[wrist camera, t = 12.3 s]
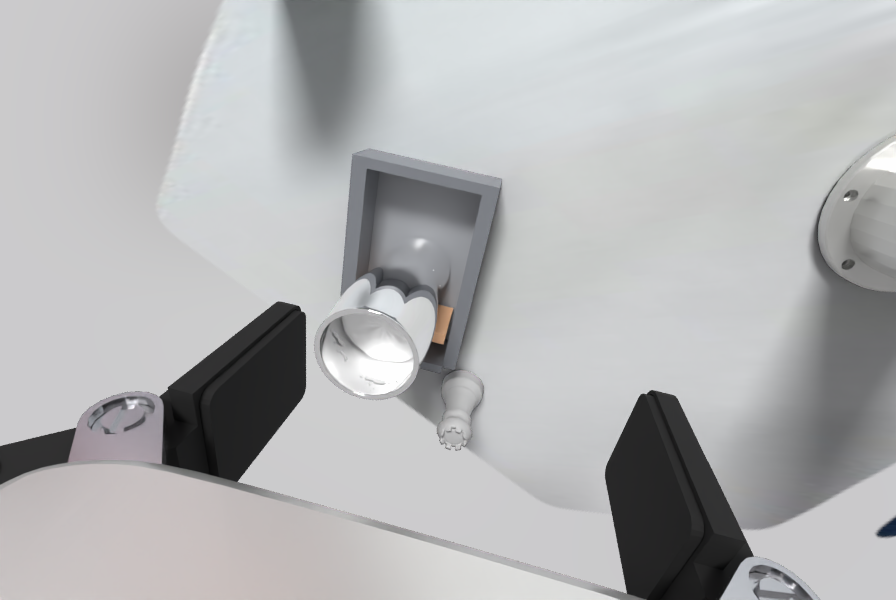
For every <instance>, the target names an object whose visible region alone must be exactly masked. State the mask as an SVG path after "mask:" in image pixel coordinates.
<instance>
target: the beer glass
mask: <svg viewBox="0 0 896 600" xmlns="http://www.w3.org/2000/svg"><path fill="white" fill-rule="evenodd" d="M449 276H450V265H449V261H448V258H447V256H446V254H445V252H444V251H443V249H442V248H441V247H440V246H439V245H437V244H436V243H435V242H433V241H431V240H429V239H427V238H424V237H419V236H412V237H406V238H403V239H401V240H399V241H398V242H396V243H395V244H394V245H393V246H392V247H391V248H390V250H389V251H388V253H387V256H386V258H385V262H384V263H383V264H381V265H379V266H378V267H376V268H374V269H372V270H371V271H369V272H367V273H366V274H364V275H363V276H362V277H360V278H359V279H357V280H356V281H355V282H354V283H353V284H352V285H351V286H350V287H349V288H348V289H347V290H346V291H345V292H344V294H343V295H342V296H341V297H340V299H339V300H338V301H337V302H336V304H335V305H334V307H333V308H332V310H331V311H330V313H329V314H328V316H327V318H326V319H325V320H324V321H323V323H322V324H321V325H320V327H319V328H318V330H317V333H316V336H315V341H314V351H315V356H316V359H317V362H318V364H319V366H320V368H321V370H322V372H323V373H324V374H325V376H326V377H327V378H328V379H329V380H330V381H331V382H332V383H333V384H334V385H335V386H337V387H338V388H340V389H341V390H343V391H344V392H346V393H348V394H350V395H353V396H356V397H359V398H363V399H369V400H383V399H388V398H391V397H395V396H397V395H399V394H401V393H403V392H404V391H405V390H407V389H408V388H409V387H410V385H411V384H412V383H413V381H414V380H415V378H416V376H417V373H418V370H419V368H420V367H421V365H422V363H423V361H424V359H425V357H426V355H427V353H428V350H429V348H430V345H431V343H432V340H433V337H434V333H435V330H436V325H437V317H438V294H439V293H440V292H441V291H442V290H443V288H444V287H445V286H446V284H447V282H448V279H449Z"/></svg>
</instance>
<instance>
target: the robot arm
mask: <svg viewBox="0 0 896 600" xmlns="http://www.w3.org/2000/svg"><path fill="white" fill-rule="evenodd" d="M818 242H819V246H820V250H821V254H822V256H823V257H824V259H825V261H826V263H827V265H828V266H829V267H830V268H831V269H832V270H833V271H834V272H835V273H836V274H838V275H839V276H841V277H843V278H844V279H846V280H848V281H849V282H851V283H854V284H856V285H858V286H860V287H862V288H866V289H871V290H875V291H882V292H896V135H894V136H892V137H890V138H888V139H887V140H885V141H883V142H882V143H880V144H879V145H877V146H876V147H874V148H873V149H871V150H870V151H869V152H867V153H866V154H865V155H864V156H863V157H861V158H860V159H859V160H858V161H857V162H855V163H854V164H853V165H852V166H851V167H850V169H849V170H848V171H847V172H846V173H845V174H844V175H843V176H842V177H841V178H840V180H839V181H838V183H837V184H836V186H835V187H834V189H833V190H832V191H831V193H830V194H829V196H828V199H827V201H826V203H825V205H824V207H823V210H822V213H821V217H820V221H819V225H818ZM305 389H306V315H305V313H304V312H301V309H300V307H299V306H297V305H293V304H289V303H284V302H276V303H275V304H274V305H272V306H271V307H270V308H269V309H267V310H266V311H265V312H264V313H262V314H261V315H260V316H258V317H257V318H256V319H254V320H253V321H252V322H251V323H249V324H248V325H247V326H246V327H244V328H243V329H242V330H241V331H239V332H238V333H237V334H235V335H234V336H233V337H232V338H230V339H229V340H228V341H227V342H225V343H224V344H223V345H221V346H220V347H219V348H218V349H216V350H215V351H214V352H213V353H211V354H210V355H209V356H207V357H206V358H205V359H204V360H202V361H201V362H200V363H199V364H197V365H196V366H195V367H193V368H192V369H191V370H190V371H188V372H187V373H186V374H184V375H183V376H182V377H181V378H179V379H178V380H177V381H176V382H174V383H173V384H172V385H170V386H169V387H168V390H167V391H166V392H165V393H164V394H162V395H161V396H160V397H158V396H157V395H155V394H152V393H149V392H140V391H135V392H125V393H121V394H117V395H113V396H111V397H108V398H106V399H104V400H101V401H99V402H98V403H96V404H94V405H93V406H91V407H90V408H89V409H88V410H87V411H86V412H84V413H83V414H82V416H81V418H80V420H79V422H78V424H77V428H74V429H69V430H65V431H61V432H57V433H53V434H48V435H44V436H40V437H36V438H32V439H28V440H24V441H19V442H15V443H11V444H7V445H3V446H0V600H820V599H819V597H818V596H817V595H816V594H815V593H814V592H813V591H812V590H811V588H810V587H809V586H808V585H807V584H806V583H804V582H803V581H802V580H801V579H800V578H799V577H798V576H796V575H795V574H794V573H793V572H791V571H789V570H788V569H786V568H785V567H783V566H782V565H780V564H778V563H775V562H773V561H771V560H769V559H766V558H760V557H754V556H753V553H752V551H751V549H750V547H749V545H748V543H747V541H746V539H745V537H744V535H743V533H742V531H741V529H740V527H739V525H738V522H737V520H736V518H735V516H734V514H733V512H732V510H731V508H730V506H729V504H728V502H727V500H726V498H725V496H724V493H723V491H722V489H721V487H720V485H719V483H718V481H717V479H716V477H715V475H714V473H713V471H712V469H711V467H710V464H709V462H708V461H707V459H706V457H705V455H704V453H703V451H702V449H701V447H700V445H699V443H698V441H697V438H696V436H695V434H694V432H693V430H692V428H691V426H690V424H689V422H688V420H687V418H686V416H685V414H684V412H683V409H682V407H681V405H680V403H679V401H678V399H677V398H676V396H674V395H670V394H666V393H662V392H658V391H654V390H651V391H649V392H648V393H647V394H641V395H640V396H639V398H638V400H637V402H636V404H635V407H634V409H633V411H632V413H631V415H630V417H629V419H628V421H627V423H626V425H625V427H624V430H623V432H622V434H621V436H620V438H619V440H618V442H617V444H616V446H615V448H614V451H613V453H612V455H611V457H610V459H609V461H608V463H607V466H606V470H605V479H606V485H607V490H608V495H609V501H610V506H611V511H612V516H613V522H614V527H615V532H616V537H617V543H618V548H619V553H620V558H621V564H622V569H623V574H624V579H625V585H626V590H627V594H626V593H623V592H619V591H616V590H613V589H610V588H607V587H603V586H600V585H597V584H594V583H591V582H587V581H584V580H581V579H577V578H574V577H570V576H567V575H563V574H560V573H556V572H553V571H550V570H546V569H543V568H539V567H536V566H532V565H529V564H525V563H522V562H519V561H515V560H512V559H508V558H505V557H501V556H498V555H494V554H491V553H488V552H484V551H481V550H477V549H474V548H471V547H467V546H464V545H460V544H456V543H453V542H449V541H446V540H442V539H439V538H435V537H432V536H429V535H425V534H421V533H418V532H415V531H411V530H408V529H404V528H401V527H397V526H394V525H390V524H386V523H382V522H379V521H376V520H372V519H369V518H365V517H362V516H358V515H355V514H351V513H347V512H344V511H340V510H337V509H333V508H330V507H326V506H323V505H319V504H315V503H312V502H308V501H305V500H301V499H297V498H294V497H290V496H287V495H283V494H280V493H275V492H272V491H269V490H265V489H262V488H258V487H254V486H251V485H247V484H243V483H239V482H238V480H239V479H240V478H241V476H242V475H243V474H244V473H245V471H246V470H247V469H248V467H249V466H250V465H251V463H252V462H253V461H254V460H255V458H256V457H257V456H258V455H259V453H260V452H261V451H262V449H263V448H264V447H265V445H266V444H267V443H268V441H269V440H270V439H271V438H272V436H273V435H274V434H275V433H276V431H277V430H278V429H279V427H280V426H281V425H282V424H283V422H284V421H285V420H286V419H287V417H288V416H289V415H290V413H291V412H292V411H293V410H294V408H295V407H296V406H297V404H298V403H299V402H300V401H301V399H302V398H303V395H304V393H305Z"/></svg>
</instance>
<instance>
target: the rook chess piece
mask: <svg viewBox="0 0 896 600" xmlns="http://www.w3.org/2000/svg"><path fill="white" fill-rule="evenodd" d="M483 390H484V386H483V384H482V381H481V379H480V378H478V377H477V376H476V375H475V374H474V373H471V372H469V371H465V370H457V371H453V372H451V373H449V374H448V375H446V376H445V378H444V380H443V382H442V388H441V395H442V398H443V400H444V402H445V404H446V411H445V413H444V414H443V416H442V422H440V423H439V425H438V427H437V434H438V436H439V438H440V440H439V441H440V443H441V444H444V443H445V444H446V447H445V448H446V449H449V450H450V449H451V446H452V447H455V450H456V451H457V450H461V446H463V447H465V446H466V444H467V442H469V441H470V439H471V438H472V430H471V428H470V426H471V418H470V416H471V413H472V410H473V409H475V407H477V406H478V404H479V403H480V401H481V399H482V394H483Z"/></svg>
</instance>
